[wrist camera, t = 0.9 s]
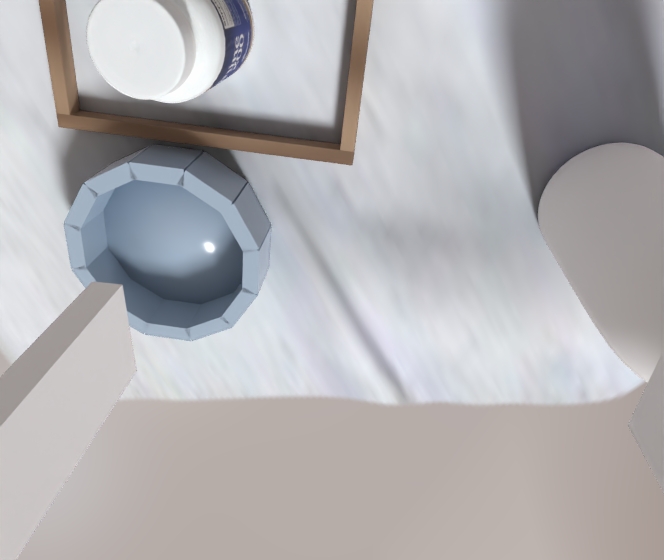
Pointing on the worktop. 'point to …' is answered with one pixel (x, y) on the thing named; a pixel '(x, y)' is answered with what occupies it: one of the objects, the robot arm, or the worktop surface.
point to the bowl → (171, 240)
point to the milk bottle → (613, 244)
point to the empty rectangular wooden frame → (191, 134)
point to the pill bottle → (169, 45)
